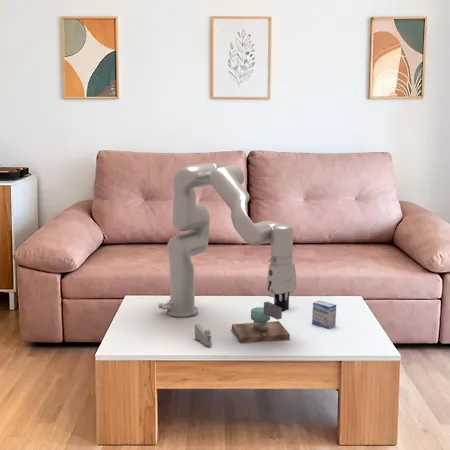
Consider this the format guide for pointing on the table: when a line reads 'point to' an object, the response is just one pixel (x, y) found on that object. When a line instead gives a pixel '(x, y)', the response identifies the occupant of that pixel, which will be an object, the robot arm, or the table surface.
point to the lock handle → (266, 312)
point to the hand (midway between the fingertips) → (280, 310)
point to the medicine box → (324, 314)
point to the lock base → (260, 332)
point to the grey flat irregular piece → (203, 335)
